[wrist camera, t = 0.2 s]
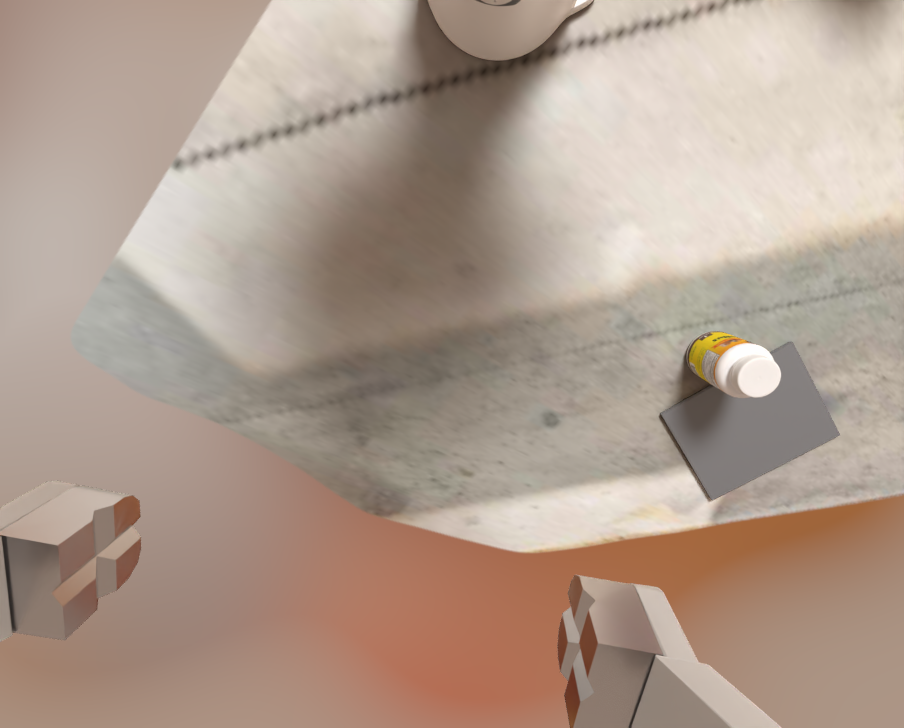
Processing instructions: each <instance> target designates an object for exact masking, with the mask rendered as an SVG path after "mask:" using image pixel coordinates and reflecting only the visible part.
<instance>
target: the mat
mask: <svg viewBox="0 0 904 728" xmlns="http://www.w3.org/2000/svg"><path fill="white" fill-rule="evenodd" d="M770 354H771V355H772V357H773V359H774V362H776V363H777V365H778V366H779V368H780V371H781V379H780V382H779V384H778V386H777V388H776V389H775V390H774V391H773V392H771V393H770V394H768V395H766V396H763V397H758V398H753V397H749V398H737V397H733V396H730V395H728V394H726V393H725V392H723V391H721V390H720V389H718V388H716V387H715V386H713V385H710V386H708V387H707V388H705V389H703V390H701V391H699V392H698V393H696V394H694V395H692V396H690V397H689V398H687V399H685V400H683V401H681V402H680V403H678V404H676V405H674V406H672V407H671V408H669V409H667V410H665V411H663V412H662V413H660V414H661V416H662V418H663V419H664V421H665V423H666V424H667V426H668V428H669V429H670V431H671V433H672V435H673V436H674V438H675V440H676V441H677V443H678V445H679V446H680V448H681V450H682V452H683V453H684V455H685V457H686V458H687V460H688V462H689V463H690V465H691V467H692V468H693V470H694V472H695V474H696V475H697V477H698V479H699V480H700V482H701V484H702V485H703V487H704V489H705V491H706V492H707V494H708V496H709V497H710V499H711V500H714V499H716V498H718V497H719V496H721V495H723V494H725V493H727V492H729V491H731V490H733V489H735V488H737V487H739V486H741V485H743V484H745V483H747V482H749V481H751V480H753V479H755V478H757V477H759V476H761V475H763V474H765V473H767V472H769V471H771V470H772V469H774V468H776V467H778V466H780V465H782V464H784V463H786V462H788V461H790V460H792V459H794V458H796V457H798V456H800V455H802V454H804V453H806V452H808V451H810V450H812V449H814V448H816V447H818V446H820V445H822V444H824V443H826V442H827V441H829V440H831V439H833V438H835V437H837V436H839V435H840V434H839V432H838V430H837V428H836V426H835V424H834V422H833V420H832V418H831V416H830V414H829V412H828V410H827V408H826V406H825V404H824V402H823V400H822V398H821V397H820V395H819V393H818V391H817V389H816V387H815V385H814V383H813V381H812V379H811V377H810V375H809V373H808V371H807V369H806V367H805V365H804V363H803V361H802V359H801V357H800V355H799V353H798V352H797V350H796V348H795V346H794V344H793V342H788V343H786V344H784V345H782V346H781V347H779V348H777V349H775V350H773V351H772V352H770Z"/></svg>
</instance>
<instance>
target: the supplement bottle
mask: <svg viewBox="0 0 904 728" xmlns="http://www.w3.org/2000/svg"><path fill="white" fill-rule="evenodd" d="M687 363H688V366H689V368H690V369H691V371H692V372H693V373H694V374H696V375H697V376H699V377H700V378H702V379H703V380H705V381H707V382H708V383H710V384H711V385H713V386H715V387H716V388H718V389H720V390H721V391H723V392H725V393H726V394H728V395H730V396H733V397H737V398H749V397H753V398H758V397H763V396H766V395H768V394H770V393H771V392H773V391H774V390H775V389H776V388H777V386H778V384H779V382H780V379H781V371H780V368H779V366H778V365H777V363H776V362H774V359H773V357H772V355H771V354H770V353H769V352H768V351H767V350H766V349H765V348H763V347H761V346H759V345H757V344H754V343H751V342H748V341H746V340H743V339H740V338H738V337H735V336H732V335H729V334H727V333H724V332H720V331H710V332H706V333H703V334H701V335H699V336H698V337H696V338H695V339H694V340H693V341H692V343H691V344H690V346H689V348H688V351H687Z"/></svg>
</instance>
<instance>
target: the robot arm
mask: <svg viewBox="0 0 904 728" xmlns="http://www.w3.org/2000/svg"><path fill="white" fill-rule="evenodd" d="M427 1H428V3H429V6H430V8H431V11H432V13H433V15H434V18H435V20H436V22H437V23H438V25H439V27H440V28H441V30H442V31H443V33H444V34H445V35H446V36H447V37H448V38H449V40H450V41H451V42H453V43H454V44H455V45H456V46H457V47H458V48H460V49H461V50H463V51H465V52H466V53H468V54H470V55H472V56H475V57H478V58H481V59H486V60H497V61H499V60H509V59H514V58H517V57H520V56H523V55H525V54H527V53H529V52H531V51H533V50H534V49H536V48H537V47H539V46H540V45H541V44H543V43H544V42H545V41H546V40H547V39H548V38H549V37H550V36H551V35H552V34H553V33H554V31H555V30H556V29H557V28H558V27H559V25H560V24H561V23H562V22H563V21H564V20H565V19H566V18H567V17H568V16H570V15H572V14H574V13H576V12H578V11H580V10H582V9H583V8H585V7H586V6H588V5H589V4H590V3H591V2H592V1H593V0H427ZM139 518H140V502H139V500H138V499H137V498H135V497H134V496H133V495H128V494H123V493H118V492H113V491H108V490H103V489H98V488H93V487H88V486H80V485H77V484H72V483H67V482H61V481H50V482H45V483H43V484H42V485H40V486H38V487H36V488H34V489H33V490H31V491H29V492H27V493H25V494H24V495H22V496H20V497H18V498H16V499H15V500H13V501H11V502H9V503H8V504H6V505H4V506H2V507H1V508H0V642H1V641H2V640H5V639H7V638H9V637H11V636H12V635H13V633H19V634H26V635H32V636H39V637H45V638H52V639H58V640H66V639H67V638H68V637H69V636H70V635H71V634H72V633H73V632H74V631H75V630H77V629H78V627H80V626H81V625H82V624H83V623H84V622H85V621H86V620H87V619H88V618H89V617H90V616H91V615H92V614H93V613H94V612H95V611H96V610H97V606H98V598H100V597H103V596H105V595H108V594H110V593H112V592H115V591H117V590H118V589H119V588H120V587H121V586H122V585H123V584H124V583H125V582H126V581H127V580H128V579H129V577H130V575H131V574H132V572H133V570H134V568H135V566H136V565H137V563H138V560H139V555H140V551H141V537H140V535H139V534H138V533H137V531H136V530H135V528H134V527H133V524H134V523H135V522H136V521H137V520H138V519H139ZM568 596H569V600H570V604H571V607H570V608H569V609H568V610H566V611H565V612H564V613H562V618H561V622H560V627H559V634H558V660H559V667H560V672H561V673H562V674H563V676H564V677H565V678H566V679H567V680H568V684H567V688H566V691H565V695H564V696H565V702H566V708H567V713H568V719H569V725H570V728H782V727H781V726H779V725H778V724H777V723H776V722H775V721H773V720H772V719H771V718H770V717H769V716H768V715H766V714H765V713H764V712H763V711H762V710H761V709H759V708H758V707H757V706H756V705H755V704H754V703H752V702H751V701H750V700H749V699H748V698H747V697H745V696H744V695H743V694H742V693H741V692H740V691H738V690H737V689H736V688H735V687H734V686H733V685H732V684H730V683H729V682H728V681H727V680H726V679H724V678H723V677H722V676H721V675H720V674H719V673H717V672H716V671H715V670H714V669H713V668H711V667H710V666H709V665H708V664H703V663H699V662H698V660H697V658H696V656H695V654H694V652H693V650H692V648H691V646H690V644H689V642H688V640H687V638H686V636H685V634H684V632H683V630H682V628H681V626H680V624H679V623H678V620H677V618H676V616H675V614H674V612H673V610H672V608H671V606H670V604H669V603H668V601H667V599H666V597H665V595H664V593H663V591H661V590H660V589H659V588H658V587H652V586H646V585H639V584H632V583H630V584H626V583H620V582H615V581H609V580H603V579H597V578H591V577H585V576H579V575H574V577H573V579H572V581H571V584H570V588H569V591H568Z"/></svg>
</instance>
